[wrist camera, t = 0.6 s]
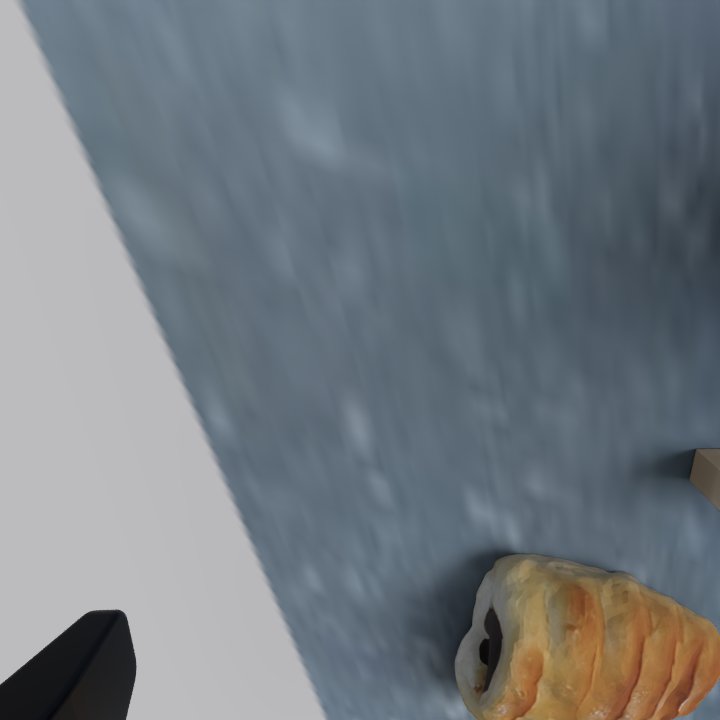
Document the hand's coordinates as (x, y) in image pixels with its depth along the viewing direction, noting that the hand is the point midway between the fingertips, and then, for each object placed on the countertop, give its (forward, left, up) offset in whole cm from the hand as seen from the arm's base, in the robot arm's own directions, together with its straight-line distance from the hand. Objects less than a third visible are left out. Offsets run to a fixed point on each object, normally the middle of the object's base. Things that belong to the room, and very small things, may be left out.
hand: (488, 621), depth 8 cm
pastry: (-7, +12, -12) cm, 18 cm away
